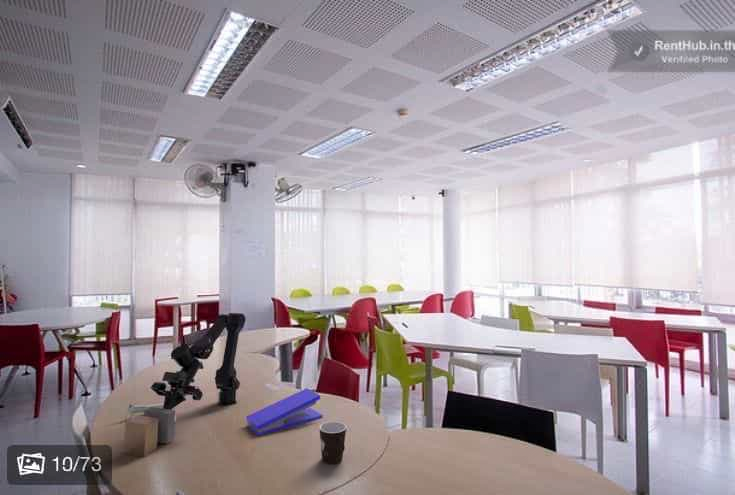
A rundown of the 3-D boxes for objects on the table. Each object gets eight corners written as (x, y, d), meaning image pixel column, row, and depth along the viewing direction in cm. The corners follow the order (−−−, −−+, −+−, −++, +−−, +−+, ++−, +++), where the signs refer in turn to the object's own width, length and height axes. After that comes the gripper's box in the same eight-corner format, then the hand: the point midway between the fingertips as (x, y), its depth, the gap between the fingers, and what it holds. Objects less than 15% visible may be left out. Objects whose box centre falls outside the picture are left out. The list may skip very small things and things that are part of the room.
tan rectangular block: (163, 431, 137) (164, 403, 137) (182, 434, 135) (183, 406, 135) (123, 453, 121) (125, 421, 121) (144, 456, 119) (145, 424, 119)
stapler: (323, 418, 152) (324, 394, 153) (257, 437, 134) (258, 409, 135) (308, 410, 161) (309, 386, 162) (245, 426, 143) (245, 400, 144)
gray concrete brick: (149, 436, 132) (151, 407, 133) (173, 439, 130) (175, 410, 130) (142, 439, 129) (144, 410, 130) (167, 443, 127) (168, 413, 127)
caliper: (126, 422, 145) (127, 405, 146) (125, 421, 146) (126, 404, 146) (175, 405, 163) (176, 391, 164) (174, 405, 164) (174, 390, 164)
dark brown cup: (319, 452, 123) (320, 421, 124) (345, 452, 124) (346, 421, 125) (317, 472, 112) (318, 437, 112) (346, 471, 112) (347, 437, 113)
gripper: (155, 359, 140) (128, 399, 129) (198, 363, 135) (174, 405, 124) (170, 375, 147) (146, 414, 136) (211, 379, 142) (190, 420, 131)
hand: (163, 413), depth 132 cm, fingers closed, pressing on gray concrete brick
